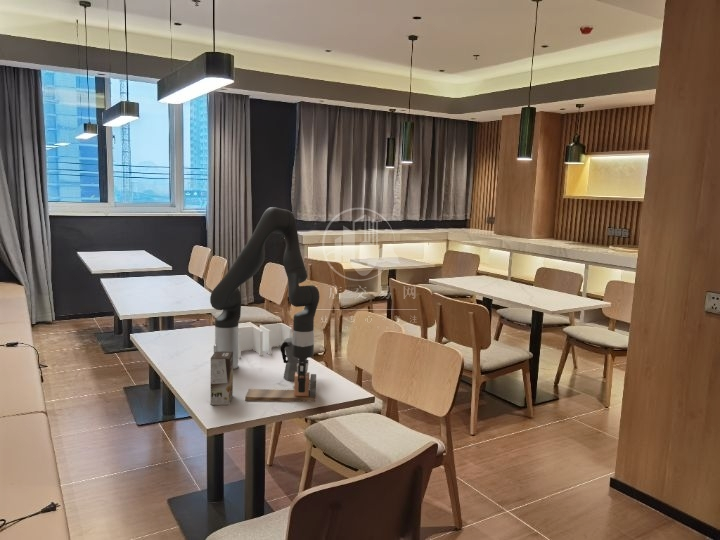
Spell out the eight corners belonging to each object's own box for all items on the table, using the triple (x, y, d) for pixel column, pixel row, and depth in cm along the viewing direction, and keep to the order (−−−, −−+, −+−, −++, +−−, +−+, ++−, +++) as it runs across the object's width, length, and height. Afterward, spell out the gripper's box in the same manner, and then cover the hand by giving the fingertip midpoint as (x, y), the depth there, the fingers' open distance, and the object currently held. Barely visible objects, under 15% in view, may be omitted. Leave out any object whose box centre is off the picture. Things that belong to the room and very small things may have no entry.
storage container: (281, 346, 269) (281, 323, 267) (291, 352, 260) (292, 328, 258) (229, 352, 255) (229, 328, 254) (238, 359, 246) (238, 334, 245)
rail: (245, 400, 198) (245, 380, 197) (248, 392, 206) (248, 372, 205) (315, 401, 200) (315, 381, 199) (315, 393, 207) (316, 374, 206)
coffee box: (229, 405, 194) (229, 358, 191) (210, 405, 193) (210, 358, 191) (233, 395, 203) (233, 351, 200) (214, 395, 202) (214, 350, 200)
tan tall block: (294, 395, 201) (294, 376, 200) (294, 391, 205) (295, 372, 204) (308, 395, 201) (309, 376, 200) (309, 391, 205) (309, 372, 204)
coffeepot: (296, 371, 232) (297, 327, 229) (315, 376, 227) (316, 331, 224) (271, 381, 219) (271, 335, 216) (290, 386, 214) (291, 339, 211)
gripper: (293, 337, 207) (292, 381, 210) (290, 347, 193) (289, 395, 196) (314, 337, 208) (313, 382, 210) (313, 348, 194) (312, 396, 196)
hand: (302, 388), depth 203 cm, fingers open, 6 cm apart
